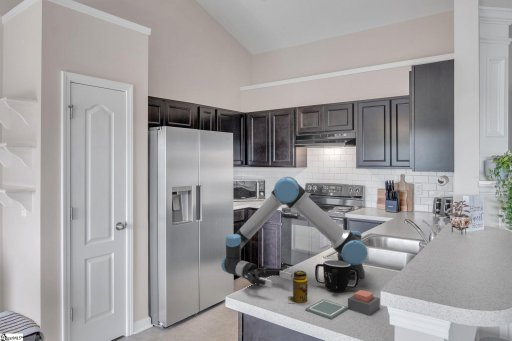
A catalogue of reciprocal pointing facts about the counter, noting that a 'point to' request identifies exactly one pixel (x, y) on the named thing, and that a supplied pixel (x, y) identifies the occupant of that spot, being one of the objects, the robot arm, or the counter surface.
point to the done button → (363, 296)
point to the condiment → (299, 288)
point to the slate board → (326, 309)
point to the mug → (336, 275)
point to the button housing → (364, 305)
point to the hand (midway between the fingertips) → (281, 280)
